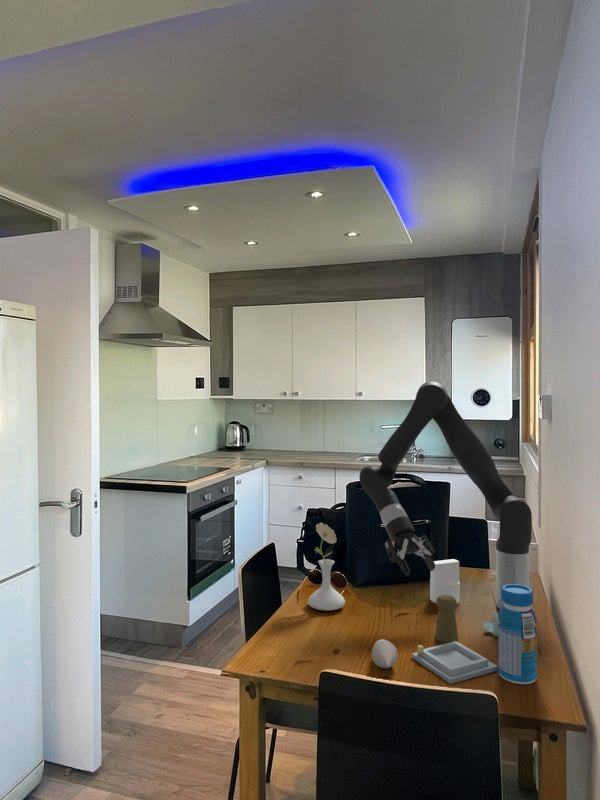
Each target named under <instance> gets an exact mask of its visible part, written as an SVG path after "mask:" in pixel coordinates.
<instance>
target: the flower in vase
mask: <svg viewBox="0 0 600 800" xmlns="http://www.w3.org/2000/svg"><path fill="white" fill-rule="evenodd" d="M315 531H316V533H318V535H319V536H320V538H321V542H320V546H319V547H318V546H316V547H315V549H314V550H313V551H314V552H316V553H318V554H319V555H321V556H322V559H319V560H317V564H319V566H320V568H321V573H322V574H321V575H322V582H321V585H320V587H319V588H318V589H317V590H315V591H314V592H313V593H312V594H311V595H310V596H309V597H308V599H307V604H308V605H309V607H311V608H313V609H315V610H319V611H327V612H328V611H335V610H338V609H341V608H343V607H344V605H345V604H346V600H345V597H344V596H343V595H342V594H341V593H339V592H338V590H336V589H335V588H334V587H332V585H331V572H332V571H331V570H332V567H333V565H334V564H335V561H334V560H333V559H329V558H327V559H326V557H328V556H330V555H331V554H332V553H333V550H332V551H331V552H328V553H326V554H325V555H324V553H323V551H322V545H323V542H327V543H328V544H331V545H332V544H335V543H337V539H338V538H337V537H336V536H337V535H336V533H335V530H334V529H331V527H330V526H328V524H326V523H325V524H324V523H323V522H319V523H317V524H316V525H315Z"/></svg>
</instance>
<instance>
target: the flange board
mask: <svg viewBox="0 0 600 800" xmlns="http://www.w3.org/2000/svg"><path fill="white" fill-rule="evenodd" d="M411 659H413V660H415V661H416V662H418V663H419V664H420V665H422V666H424V667H425V668H426V669H428V670H429V669H430V670H429V671H431V672H432V671H433V672H432V673H433V674H435V675H436V676H437V677H439V676H440V678H441V677H442V678H443V679H442V678H441V679H442V680H443V681H445V680H446V681H445V682H447V683H448V682H449V683H448V684H450V685H452V683H453V684H455V682H456V683H460V682H463V681H466V680H469V678H470V679H473V678H476V677H481V676H483V675H487V674H490V673H493V672H498V665H497V664H495V663H494V662H491V661H490V660H489V659H488V658H486V657H484V656H483V655H481V654H479V653H477V652H476V651H474V650H472V649H471V648H469V647H467V646H465V645H464V644H462V643H461V642H458V641H454V642H450V643H443V644H439V645H434V646H431V647H426V648H424V646H423V645H421V644H419V645H417V652H416V651H415V652H413V653H411ZM472 677H473V678H472ZM462 680H463V681H462ZM459 681H460V682H459Z"/></svg>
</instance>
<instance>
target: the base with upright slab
mask: <svg viewBox="0 0 600 800" xmlns="http://www.w3.org/2000/svg"><path fill="white" fill-rule="evenodd" d="M433 561H434V563H435V569H434V570H433V571H430V570H429V571H430V575H429V576H430V579H429V599H430V601H431V602H432V603H434V604H436V601H437V598H438V597H439V596H440V595H450V596H452V597H454V598H455V599H456V602H457V604H460V602H461V597H460V596H461V589H460V588H461V582H460V561H459V560H457V559H455V558H451V559H443V560H433Z"/></svg>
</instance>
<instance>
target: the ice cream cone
mask: <svg viewBox="0 0 600 800" xmlns="http://www.w3.org/2000/svg"><path fill="white" fill-rule="evenodd" d="M398 656H399V655H398V650H397V648H396V647H395V645H394V644H393V643H392V642H390V641H388V640H387V639H382V638H381V639H379V640H376V642H374V645H373V647H372V650H371V659H372V661H373V663H374V665H376V666H377V668H378V667H379V668H381V669H389V668H392V667H393V666H394V665H396V663H397V660H398Z"/></svg>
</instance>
